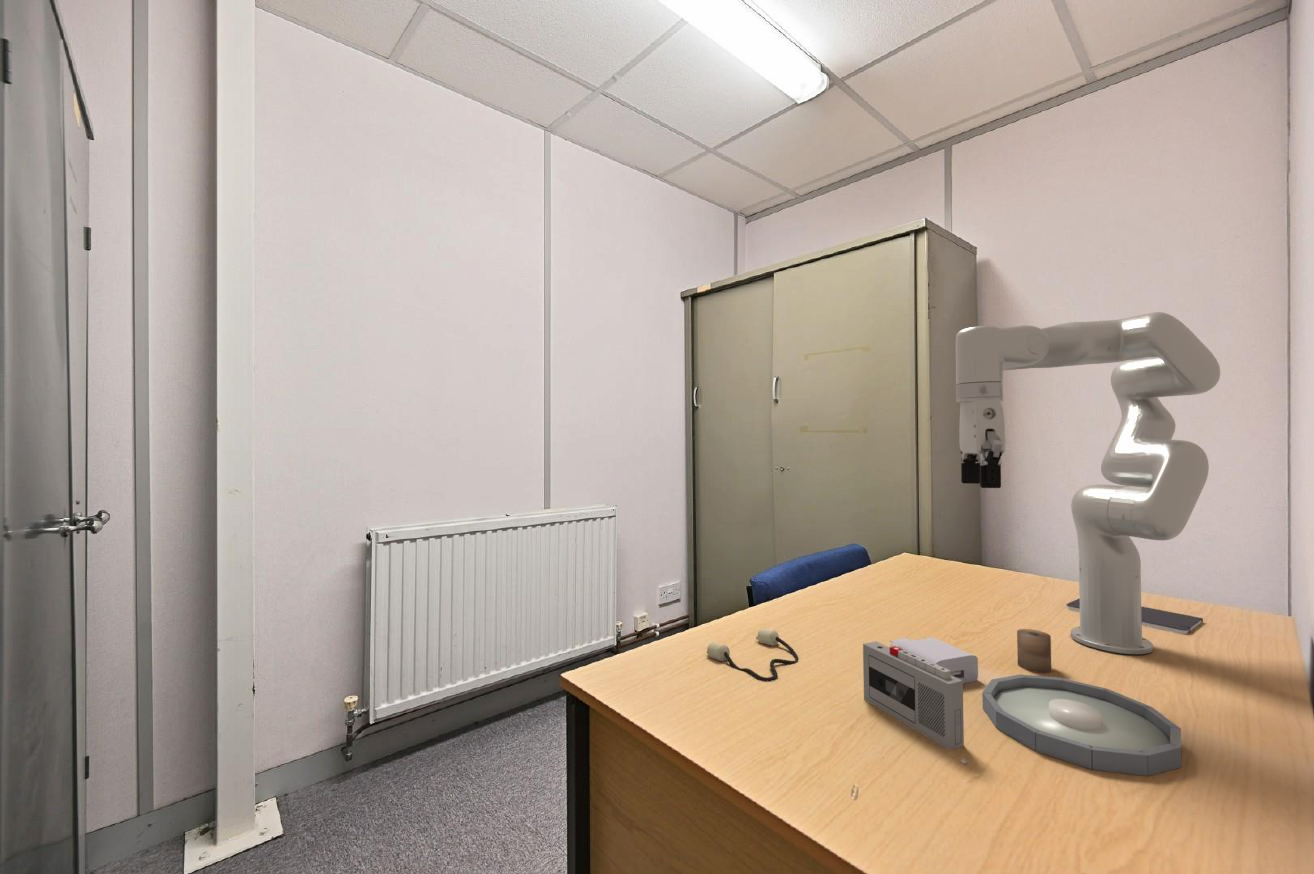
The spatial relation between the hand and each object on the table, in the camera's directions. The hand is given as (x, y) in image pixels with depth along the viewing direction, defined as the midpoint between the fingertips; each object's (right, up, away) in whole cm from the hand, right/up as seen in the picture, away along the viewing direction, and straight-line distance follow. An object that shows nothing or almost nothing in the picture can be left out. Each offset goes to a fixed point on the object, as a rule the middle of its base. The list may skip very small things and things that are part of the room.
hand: (980, 485), depth 100 cm
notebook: (+49, -33, +23) cm, 63 cm away
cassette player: (-23, -34, -20) cm, 45 cm away
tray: (0, -33, -23) cm, 40 cm away
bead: (+8, -33, -3) cm, 34 cm away
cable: (-40, -34, +4) cm, 53 cm away
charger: (-12, -33, -2) cm, 35 cm away
